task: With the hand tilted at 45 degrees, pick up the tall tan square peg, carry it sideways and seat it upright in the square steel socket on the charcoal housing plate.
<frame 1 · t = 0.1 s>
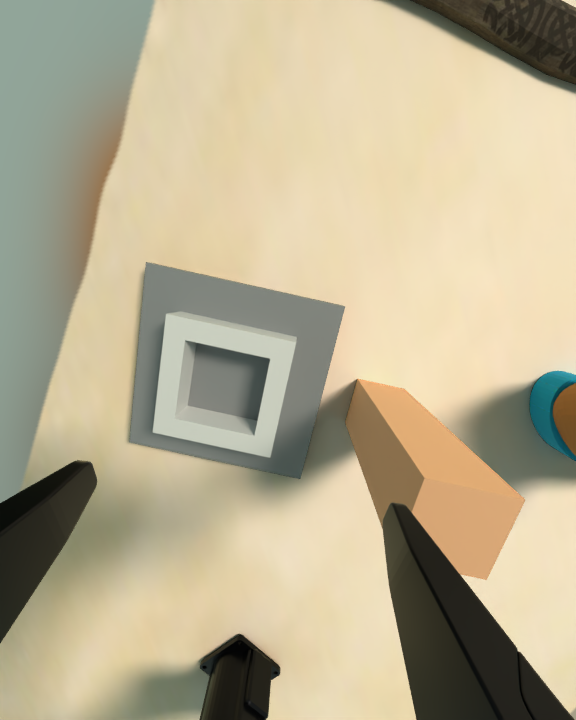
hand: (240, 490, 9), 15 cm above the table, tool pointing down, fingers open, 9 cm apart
axe: (524, 82, 19), on the table
tan square peg: (374, 405, 24), on the table
housing: (232, 375, 24), on the table
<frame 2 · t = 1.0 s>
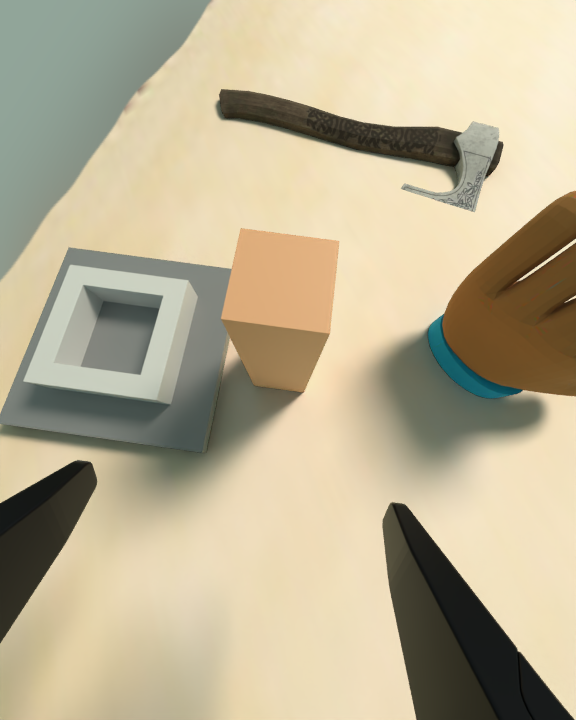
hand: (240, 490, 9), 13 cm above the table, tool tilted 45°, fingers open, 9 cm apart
axe: (345, 155, 31), on the table
toy: (482, 359, 24), on the table
tan square peg: (282, 365, 23), on the table
housing: (136, 345, 24), on the table
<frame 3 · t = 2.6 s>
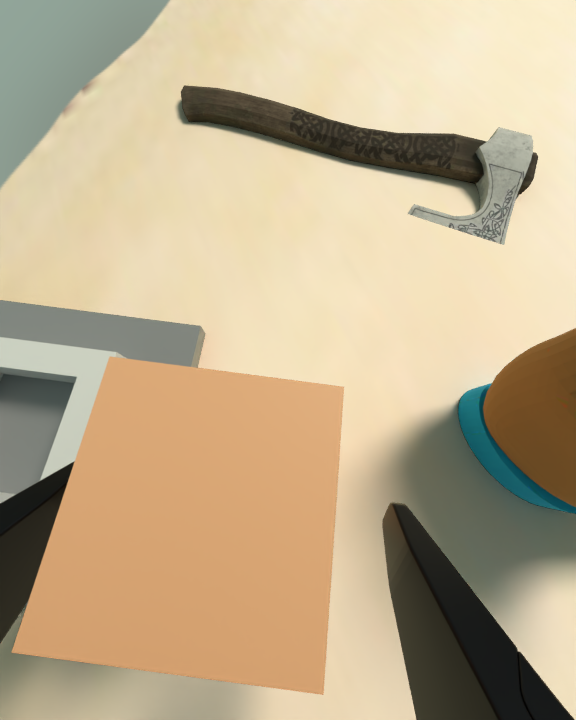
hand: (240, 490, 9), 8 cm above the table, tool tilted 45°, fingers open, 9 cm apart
axe: (338, 168, 25), on the table
toy: (533, 446, 18), on the table
tan square peg: (258, 462, 17), on the table
housing: (51, 434, 17), on the table
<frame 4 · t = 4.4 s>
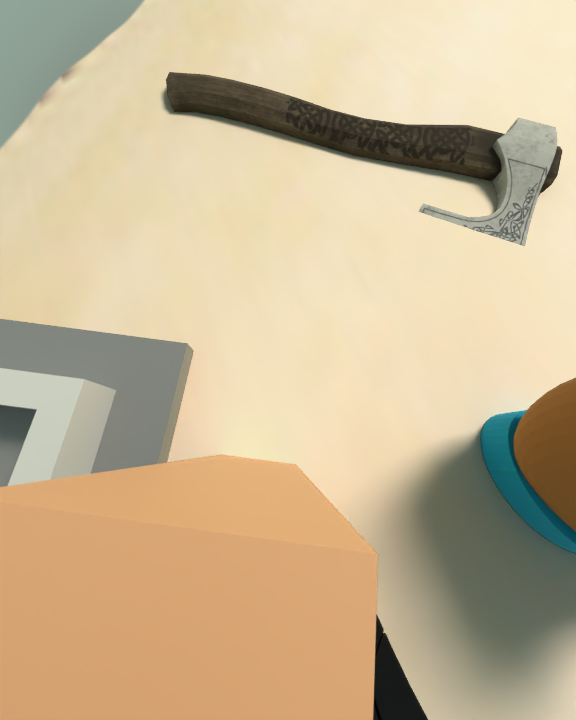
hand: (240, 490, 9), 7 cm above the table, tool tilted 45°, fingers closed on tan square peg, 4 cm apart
axe: (339, 164, 22), on the table
toy: (567, 482, 15), on the table
tan square peg: (252, 501, 14), on the table, touching gripper
housing: (15, 469, 15), on the table
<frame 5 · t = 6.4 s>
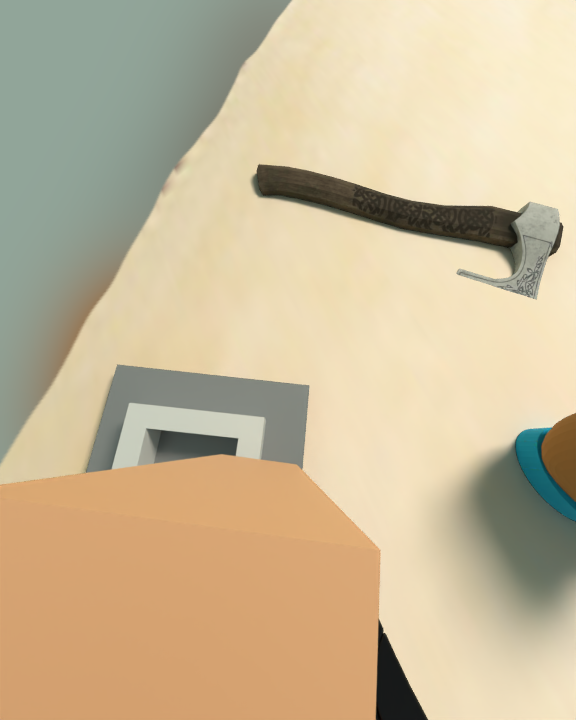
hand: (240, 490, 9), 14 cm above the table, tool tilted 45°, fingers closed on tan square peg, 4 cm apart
axe: (391, 234, 29), on the table
tan square peg: (252, 500, 14), point 7 cm above the table, touching gripper
housing: (198, 476, 21), on the table
when the fingers open (9 cm above the table, at t = 8.5 s): tan square peg drops 1 cm, resting on housing.
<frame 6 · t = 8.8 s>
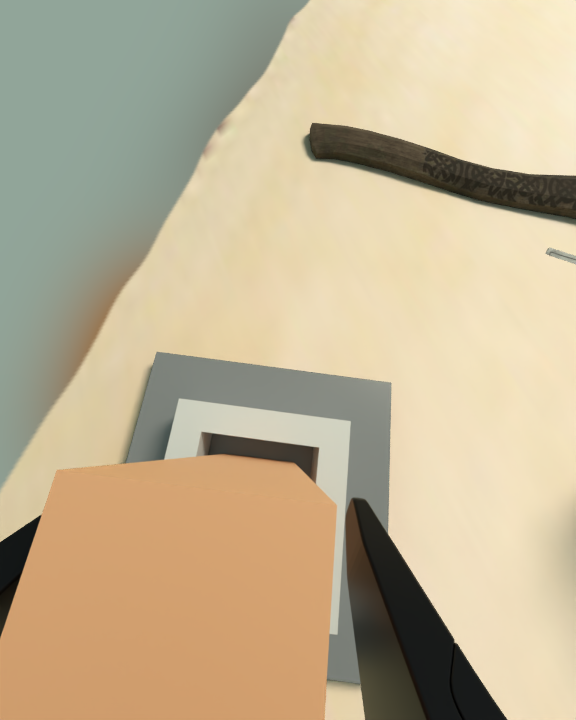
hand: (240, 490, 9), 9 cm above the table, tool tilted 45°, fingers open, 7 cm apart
axe: (464, 207, 25), on the table
tan square peg: (254, 495, 16), point 1 cm above the table, touching housing
housing: (256, 492, 17), on the table
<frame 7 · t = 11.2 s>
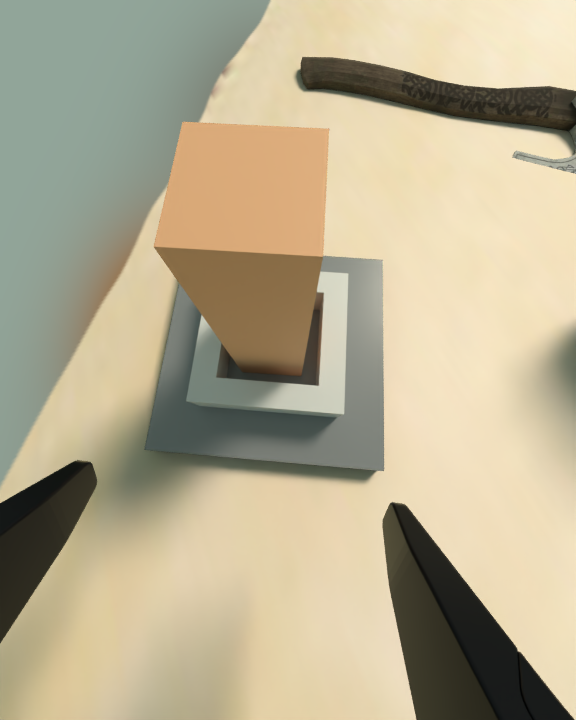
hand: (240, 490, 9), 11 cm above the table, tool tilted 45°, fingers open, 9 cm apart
axe: (441, 124, 28), on the table
tan square peg: (274, 346, 20), point 1 cm above the table, touching housing
housing: (275, 351, 21), on the table
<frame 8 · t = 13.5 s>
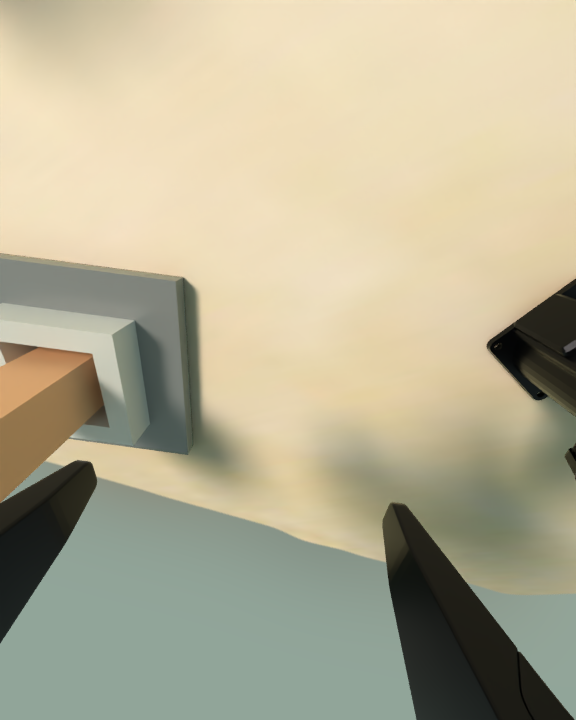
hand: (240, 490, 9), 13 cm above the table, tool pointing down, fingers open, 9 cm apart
tan square peg: (83, 369, 21), point 1 cm above the table, touching housing
housing: (94, 361, 22), on the table
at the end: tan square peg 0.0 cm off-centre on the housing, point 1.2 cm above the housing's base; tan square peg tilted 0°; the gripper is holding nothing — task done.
